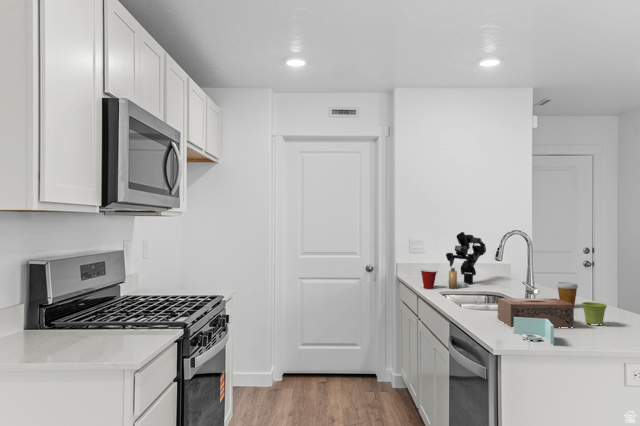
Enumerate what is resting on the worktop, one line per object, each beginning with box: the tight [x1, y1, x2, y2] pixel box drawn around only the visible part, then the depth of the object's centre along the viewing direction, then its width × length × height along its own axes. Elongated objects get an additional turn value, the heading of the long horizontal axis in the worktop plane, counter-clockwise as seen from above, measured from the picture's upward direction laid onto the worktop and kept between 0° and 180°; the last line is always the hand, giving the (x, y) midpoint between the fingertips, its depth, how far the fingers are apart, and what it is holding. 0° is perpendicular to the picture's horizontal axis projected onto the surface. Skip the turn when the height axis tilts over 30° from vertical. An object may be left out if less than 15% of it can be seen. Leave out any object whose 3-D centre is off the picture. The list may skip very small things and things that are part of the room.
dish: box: [457, 281, 469, 289], centre depth 309 cm, size 11×11×2 cm
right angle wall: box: [513, 317, 555, 345], centre depth 174 cm, size 12×12×8 cm
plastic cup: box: [420, 268, 438, 290], centre depth 300 cm, size 11×11×12 cm
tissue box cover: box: [497, 297, 575, 329], centre depth 200 cm, size 26×14×10 cm, turn 89°
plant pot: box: [581, 301, 608, 325], centre depth 200 cm, size 9×9×9 cm
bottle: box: [448, 267, 458, 290], centre depth 301 cm, size 5×5×13 cm
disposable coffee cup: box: [556, 281, 579, 307], centre depth 239 cm, size 10×10×12 cm
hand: (457, 267), depth 307 cm, fingers open, 9 cm apart
